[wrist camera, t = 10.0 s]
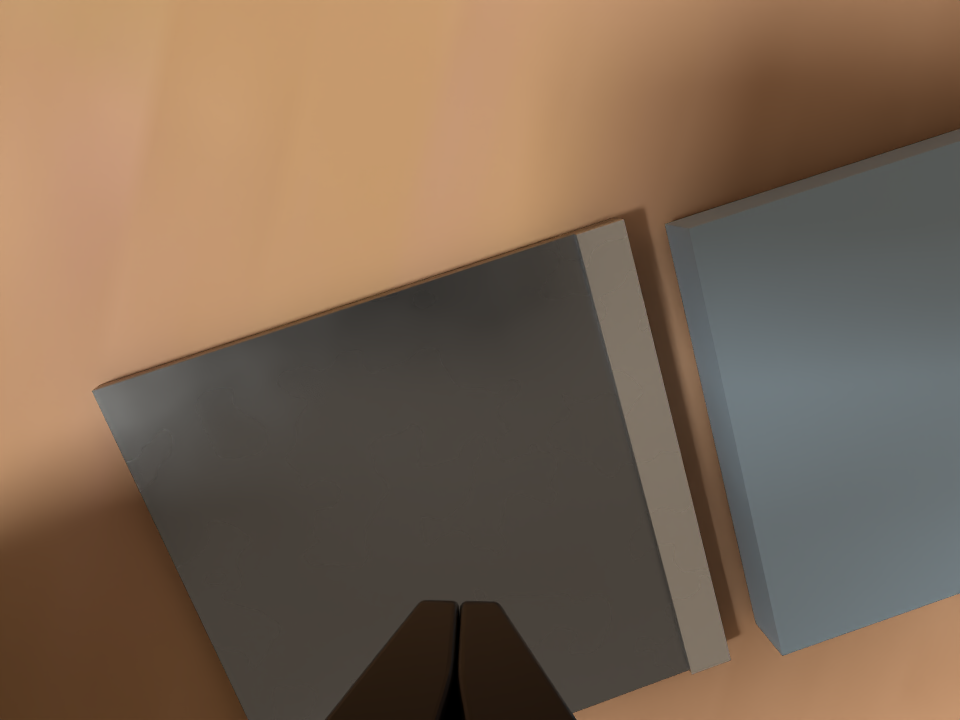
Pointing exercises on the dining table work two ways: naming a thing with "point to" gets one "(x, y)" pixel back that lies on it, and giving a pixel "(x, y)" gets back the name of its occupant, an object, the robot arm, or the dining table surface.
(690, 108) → the dining table surface
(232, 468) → the plate
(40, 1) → the dining table surface
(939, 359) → the grey rectangular slab
